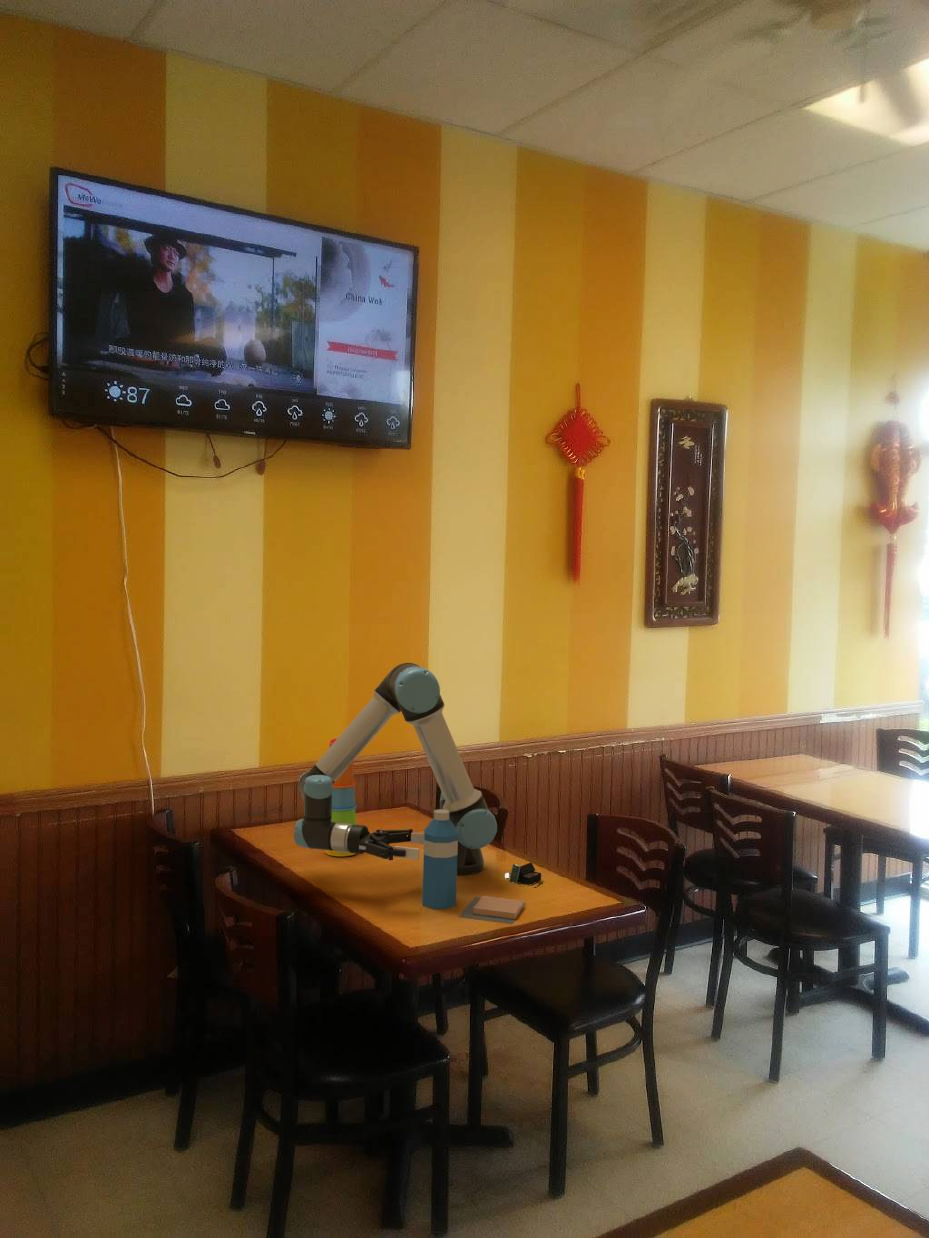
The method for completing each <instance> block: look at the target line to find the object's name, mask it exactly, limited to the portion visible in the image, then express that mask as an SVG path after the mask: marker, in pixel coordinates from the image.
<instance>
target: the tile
mask: <svg viewBox="0 0 929 1238" xmlns="http://www.w3.org/2000/svg"><path fill="white" fill-rule="evenodd" d="M480 898H481V899H480V900H479V901H478V903H477V904H476V905H475V906H474V908H473V913H475V914H478V915H485V916H493V917H501V918H508V919H515V918H516V917H517V915H518V914H519V912H520V911H521V910H523V909H524V908H525V906H524V903H525V900H522V899H514V898H513V899H512V898H505V897H499V896H498V897H497V896H490V895H483V896H481V897H480ZM523 907H524V908H523ZM522 908H523V909H522ZM521 912H522V911H521ZM521 912H520V913H521ZM519 915H520V914H519ZM519 915H518V916H519ZM517 918H518V917H517ZM517 918H516V919H517Z"/></svg>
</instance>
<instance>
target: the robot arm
mask: <svg viewBox="0 0 929 1238" xmlns="http://www.w3.org/2000/svg"><path fill="white" fill-rule="evenodd" d="M444 708H445V702H444V700H443V698H442V695H441V688H440V684H439V681H438V679H437V677H436V676H435V674H433V672H432V671H430V670H429V669H427V668H426V667H421V666H420V665H418V664H416V663H413V662H404V663H399V664H398V665H396V666H394V667H393V668H392V669H391V670H390V671H389V672H388V673H387V674H386V675H385V677H384V678H383V679H382V681H380V683H379V684H378V686H376V688H375V689H374V690H373V696H372V698H371V699H370V700H369V702H368V703H367V704H366V705H365V706H364V707H363V708H362V710H360V712H359V713H358V714H357V715H356V716H355V717H354V719H353V720H352V721H351V722H350V723H349V725H348V726H347V727H346V728H345V729H344V730H343V731H342V733H341V734H340V735H339V736H338V737H337V738H336V739H337V740H336V741H335V742H334V743H333V744H332V746H331V747H330V748H328V749H327V750H326V751H325V752H324V753H323V754H322V756H321V757H320V758H319V760H317V762H316V763H315V764H314V766H312V768H311V769H310V770H307V771H305V772H303V773H302V774H301V775H300V776H299V779H298V784H297V787H298V792H299V794H300V795H301V797H302V800H303V817H302V818H300V819H298V820H297V821H296V823H295V826H294V831H293V840H294V843H295V845H296V846H297V847H302V848H305V849H309V850H321V851H322V850H324V851H326V850H331V851H339V853H340V854H341V853H342V852H350V853H355V854H354V855H363V854H368V855H372V856H375V857H377V858H381V859H384V860H389V861H393V860H394V858H401V859H409V860H415V861H419V859H420V848H418V847H417V848H415V847H407V846H400V845H395V846H391V844H399V843H400V844H401V843H408V842H409V843H410V844H417V845H424V833H421V832H413V830H414V829H413V828H409V829H388V830H387V829H383V830H382V829H376V830H375V831H374V832H372V833H370V831H369V828H368V826H366V825H363V824H356V825H352V824H347V823H337V822H332V793H333V786H332V785H333V784H334V783H335V781H336V780H337V779H338V778H339V777H340V775H341V774H342V773H343V772H344V771H345V770H346V769H347V767H348V766H349V765H350V764H351V763H352V762H353V761H355V760H356V758H357V757H358V756H359V755H360V754H361V752H362V751H363V750H364V749H365V748H366V747H367V745H368V744H369V743H370V742H371V741H372V740H373V738H375V736H376V735H377V734H378V733H379V732H380V731H381V729H383V727H384V726H385V725H386V723H388V722H389V720H390V719H391V718H392V717H393V716H394V715H397V714H400V713H401V715H402V716H403V719H404V720H405V722H406V723H408V724H410V725H412V726H413V728H414V731H415V733H416V735H417V738H418V740H419V741H420V744H421V747H422V749H423V751H424V754H425V757H426V758H427V760H428V763H429V765H430V768H431V770H432V772H433V774H434V777H435V780H436V781H437V785H438V787H439V788H440V789H439V790H440V792H441V793H440V797H439V798H440V799H439V809H445V810H449V819H450V821H451V822H452V824H453V825H454V826H455V828H456V829H457V832H458V852H457V876H459V875H460V876H461V875H462V876H464V875H473V874H476V873H479V872H481V871H483V870H484V868H485V859H484V855H483V852H482V850H481V849H482V848H485V847H487V846H488V845H489V844H490V843H492V842H493V840H494V838H495V837H496V834H497V832H498V824H497V820H496V819H497V818H496V817H495V815H494V814H493V813H492V812H491V811H490V810H489V806H488V804H487V803H486V800H485V798H484V796H483V793H482V791H481V790H478V789H475V788H474V785H473V782H472V781H471V779H470V776H469V774H468V771H467V770H466V767H465V764H464V762H463V760H462V759H463V758H462V757H461V754H460V752H459V750H458V748H457V745H456V743H455V741H454V738H453V736H452V734H451V730H450V729H449V726H448V724H447V722H446V719H445V717H444V715H443V710H444Z"/></svg>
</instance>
